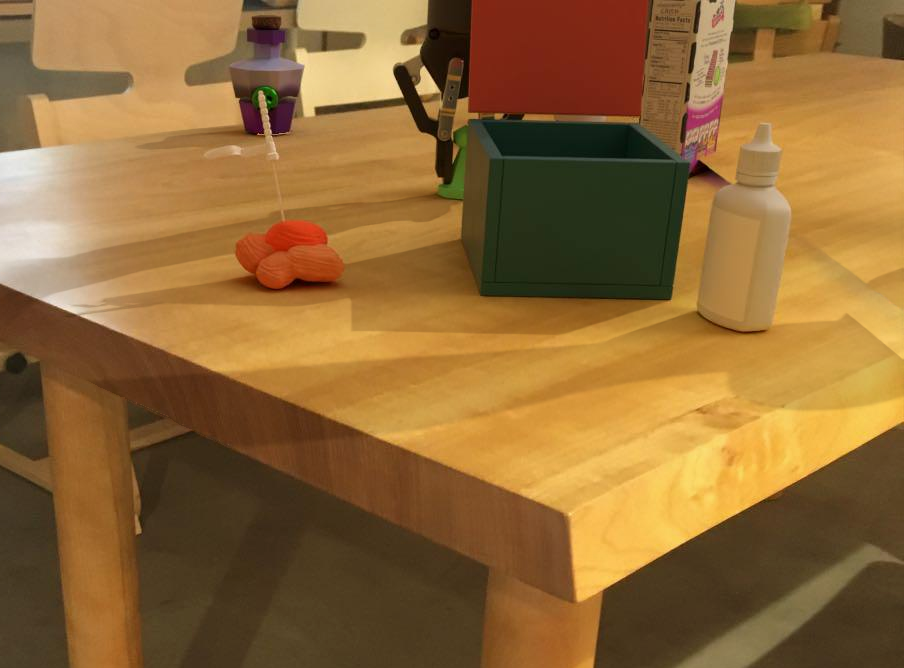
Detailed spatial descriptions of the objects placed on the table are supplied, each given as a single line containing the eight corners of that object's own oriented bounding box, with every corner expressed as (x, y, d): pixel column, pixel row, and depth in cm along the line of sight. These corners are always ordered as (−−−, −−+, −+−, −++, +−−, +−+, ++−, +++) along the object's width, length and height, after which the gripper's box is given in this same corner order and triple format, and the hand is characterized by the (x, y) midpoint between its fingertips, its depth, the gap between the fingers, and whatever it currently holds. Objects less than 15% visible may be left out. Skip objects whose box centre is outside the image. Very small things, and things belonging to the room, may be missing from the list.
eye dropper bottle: (700, 331, 77) (732, 129, 71) (694, 305, 82) (722, 114, 76) (773, 336, 76) (810, 133, 71) (762, 310, 81) (796, 118, 76)
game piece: (427, 194, 111) (431, 124, 108) (456, 187, 114) (460, 119, 111) (467, 202, 108) (471, 130, 106) (495, 194, 111) (500, 125, 109)
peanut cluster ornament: (227, 262, 89) (222, 84, 83) (356, 274, 87) (360, 92, 81) (195, 284, 83) (188, 96, 78) (331, 298, 81) (334, 105, 76)
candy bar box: (667, 160, 129) (690, -13, 121) (714, 166, 126) (741, -10, 119) (627, 177, 120) (650, -8, 112) (678, 184, 118) (704, -5, 110)
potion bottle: (241, 140, 133) (238, 18, 128) (219, 127, 140) (216, 11, 135) (317, 136, 136) (318, 18, 131) (292, 124, 143) (292, 11, 138)
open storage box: (671, 299, 83) (691, 162, 79) (480, 295, 83) (489, 157, 79) (624, 241, 97) (638, 122, 93) (460, 238, 97) (467, 118, 93)
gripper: (552, -31, 106) (534, 176, 114) (389, -35, 106) (383, 173, 114) (565, -26, 100) (546, 194, 107) (392, -31, 99) (385, 190, 107)
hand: (462, 182), depth 111 cm, fingers closed on game piece, 2 cm apart
